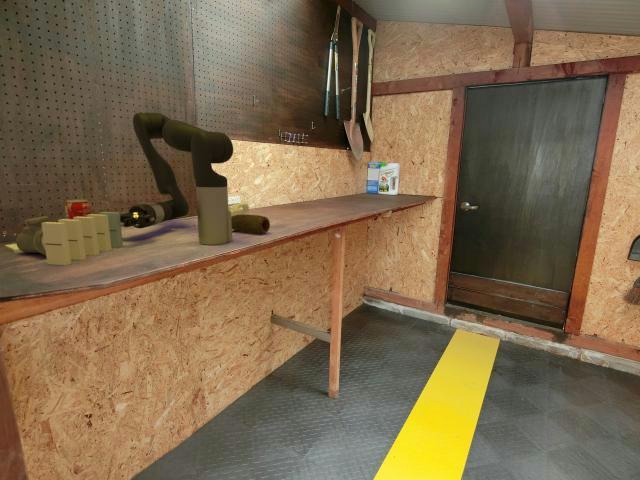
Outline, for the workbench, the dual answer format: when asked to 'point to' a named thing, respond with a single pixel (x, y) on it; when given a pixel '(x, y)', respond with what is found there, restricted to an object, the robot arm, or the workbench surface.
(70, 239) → the domino
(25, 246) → the pipe fitting
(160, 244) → the workbench surface
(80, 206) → the soda can
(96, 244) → the domino
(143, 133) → the robot arm
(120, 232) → the domino
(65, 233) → the domino
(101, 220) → the domino
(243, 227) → the portable bluetooth speaker
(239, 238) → the workbench surface
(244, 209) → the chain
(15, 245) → the external hard drive
